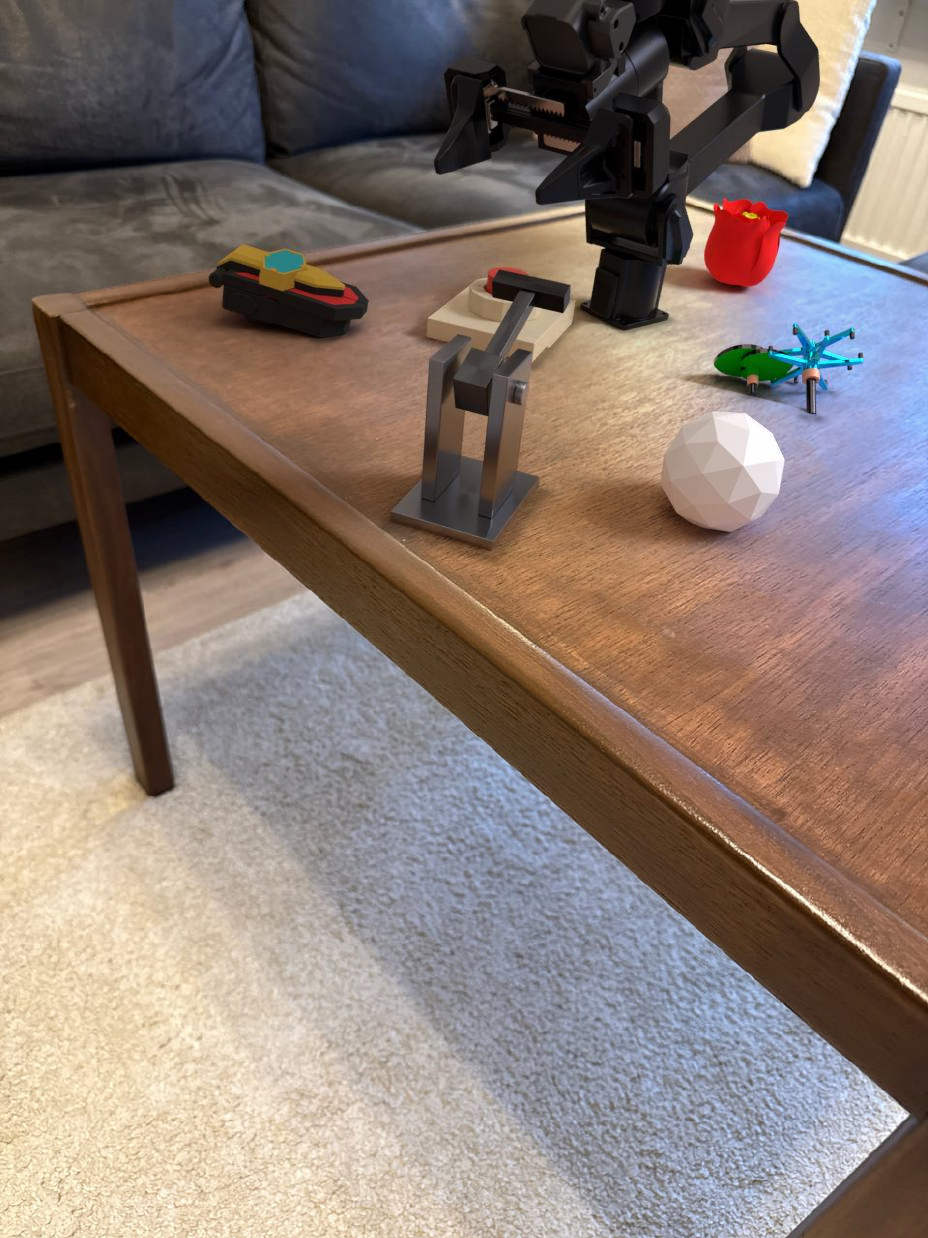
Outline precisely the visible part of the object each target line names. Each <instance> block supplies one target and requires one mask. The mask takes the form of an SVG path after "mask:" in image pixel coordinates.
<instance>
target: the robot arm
mask: <svg viewBox="0 0 928 1238" xmlns="http://www.w3.org/2000/svg"><path fill="white" fill-rule="evenodd" d="M520 24H521V28H522V30H523V31H525V33H526V36H527V39H528V42H529V45H530V48H531V51H532V54H533V57H534V59H535V60H534V61H533V62H532V63H531V64H530V65H529V66H527V68H526V72H527V84H528V85H529V86H533V91H532V92H531V93H530V92H526V91H522V90H519V89H514V88H509V87H508V84H507V74H506V71H505V70H504V69H503V68H502V67H501V66H499V65H498V64H496V63H492V62H487V61H482V60H479V59H474V58H470V57H464V56H462V57H461V58H459V59H458V60H457V61H455V62H454V63H453V64H451V65H450V66H449V67H447V69H446V70H445V71H444V73H443V79H444V87H445V92H446V100H447V106H448V113H449V119H450V127H449V128H448V130H447V132H446V135H445V137H444V138H443V141H442V143H441V145H440V147H439V148H438V150H437V153H436V154H435V157H434V159H433V167H434V172H435V174H436V175H439V176H441V175H445V174H450V173H453V172H456V171H459V170H462V169H465V168H468V167H472V166H475V165H477V164H480V163H481V164H482V163H483V162H486V161H489V160H491V159H492V157H493V156H492V153H496V152H499V151H500V150H501V149H503V148H504V147H505V146H506V145H507V142H508V139H509V136H510V133H511V131H512V127H516V128H520V129H523V130H527V131H530V132H534V134H535V135H536V136H537V146H538V147H537V148H538V149H539V150H544V151H547V152H552V153H555V154H558V155H563V156H566V157H565V158H564V159H563V160H562V161H561V162H560V163H559V164H557V166H556V167H555V168H553V169H552V170H551V171H550V172H549V173H548V174H547V175H546V176H545V178H544V179H543V180H542V182H541V183H540V184H539V185H538V186H537V187H536V189H535V191H534V196H535V197H534V198H535V204H536V205H539V206H547V205H556V204H562V203H570V202H576V201H584V216H585V217H584V220H585V241H586V244H588V245H594V246H598V247H600V248H601V249H600V254H599V258H598V259H599V260H598V266H597V267H596V268H595V272H594V277H593V282H592V283H593V284H592V289H591V290H592V291H591V295H590V300H584V301H581V302H580V303H579V309H581V310H583V311H584V312H587V313H589V314H591V315H593V316H595V317H597V318H599V319H600V320H602V321H605V322H607V323H609V324H611V325H613V326H615V327H617V328H619V329H621V330H631V329H634V328H638V327H642V326H646V325H647V326H648V325H651V324H654V323H655V324H656V323H658V322H659V323H660V322H663V321H666V320H669V318H670V313H668V312H667V311H664V310H662V309H660V308H659V304H660V300H661V295H662V291H663V286H664V283H665V276H666V273H667V267H668V266H669V265H670V266H680V265H683V262H684V259H685V258H686V257H687V254H688V251H689V250H690V248H691V244H692V241H693V238H694V231H693V228H692V224H691V220H690V217H689V215H688V211H687V207H686V205H687V197H688V196H689V195H690V194H691V193H692V192H693V191H694V190H695V189H697V187H699V186H700V185H701V184H702V183H704V181H706V180H707V179H708V178H709V177H710V176H711V175H712V174H714V173H715V172H716V171H717V169H719V168H720V167H721V166H722V165H723V164H725V162H727V161H728V160H729V159H730V158H731V157H732V156H734V155H735V153H737V152H738V151H739V150H740V149H741V148H742V147H743V146H745V145H746V144H747V143H748V142H749V141H751V139H752V138H754V137H755V136H756V135H757V134H759V133H765V132H771V131H779V130H780V131H781V130H785V129H786V128H789V127H790V126H791V125H794V124H795V123H797V122H799V121H800V120H801V119H802V118H803V116H805V115H806V113H808V112H809V111H810V110H811V108H812V107H813V106H814V103H815V102H816V99H817V97H818V93H819V89H820V86H821V72H820V71H821V70H820V52H819V48H818V46H817V45H816V43H815V41H814V40H813V38H812V37H811V35H810V34H809V33H808V31H807V30H806V28H805V26H804V25H803V24H802V21H801V12H800V5H799V2H798V0H531V2H530V3H529V4H528V6H527V8H526V10H525V11H524V12H523V14H522V16H521V17H520ZM764 45H769V46H773V47H776V51H771V50H764V49H759V48H754V47H752V46H764ZM748 47H752V48H750V49H748ZM727 49H732V50H731V51H730V53H729V55H728V56H727V58H726V60H725V62H724V64H723V67H724V68H723V69H724V74H725V81H726V85H727V86H726V87H727V91H726V92H725V93H724V94H723V95H722V96H720V97H719V98H718V99H717V100H716V101H714V102H713V103H712V104H711V105H710V106H708V107H707V108H706V109H705V110H703V112H701V113H700V114H699V115H697V116H696V117H695V118H694V119H693V120H691V121H690V122H689V123H687V125H685V126H684V127H683V128H682V129H681V130H679V131H678V132H677V133H676V134H675V135H674V136H672V137H671V123H672V122H671V121H672V117H671V114H670V111H669V108H668V107H667V105H665V103H664V102H663V96H664V95H663V94H664V81H665V79H666V78H667V76H668V74H669V69H670V68H669V67H675V68H678V69H684V70H689V71H694V72H695V71H698V70H701V68H704V67H706V66H708V65H709V64H711V63H713V62H714V61H716V60H717V59H718V57H719V52H720V51H721V50H727Z"/></svg>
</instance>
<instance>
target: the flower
mask: <svg viewBox="0 0 928 1238" xmlns="http://www.w3.org/2000/svg"><path fill="white" fill-rule="evenodd" d="M712 208H713V214H714V223H713V225H712V228H711V229H710V232H709V234H708V236H707V240H706V243H705V247H704V252H703V260H704V261H703V262H704V264H705V267H706V269H707V271H708V272H709V274H710V275H711V276H712V277H713V278H714V279H715V280H716V281H717V282H719V283H721V284H726V285H731V286H740V287H745V288H746V287H747V288H749V287H755V286H757V285H759V284H761V283H762V282H763V281H764V280H765V279H766V278H767V277H768V276H769V274H770V273H771V272H772V270H773V268H774V265H775V263H776V259H777V256H778V254H779V250H780V246H781V245H780V244H781V233H782V231H783V229H784V228H785V226H786V225H787V220H788V218H789V213H788V212H786V211H785V210H780V209H779V210H776V209H775V210H774V209H770V208H769V207H768V206H767V205H766V203H765V202H763V201H756V202H755V203H753V202H752V201H751V200H750V199H747V198H742V199H736V200H733V201H728V200H727V199H726V197H723V199H722V208H721V207H720V204H719V203H717V202H716V203H714V204H713V207H712Z"/></svg>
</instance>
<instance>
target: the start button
mask: <svg viewBox="0 0 928 1238" xmlns="http://www.w3.org/2000/svg"><path fill="white" fill-rule="evenodd" d="M499 269H501V270H506V271H510V272H515V273H519V274H524V275H528V273H526V272H525V271H523V270H521V269H519V268H514V267H510V266H509V267H507V266H499V267H493V268H491V269H489V270H488V272H487V277H488V278H487V277H486V278H487V288H486V292H488V293H489V294H491V295H492V280H493V278H494V277H495V275H496V273H497V272H498V270H499Z"/></svg>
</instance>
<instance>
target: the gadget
mask: <svg viewBox="0 0 928 1238" xmlns="http://www.w3.org/2000/svg"><path fill="white" fill-rule="evenodd" d="M208 283H209V285H210V286H211V287H213V288H215V289H220V288H221V287H222V288H223V289H222V301H221V308H222V309H223V310H226V311H230V312H232V313H236V314H239V315H242V316H243V317H245V319H246V320H249V321H252V322H254V323H257V324H261V325H262V324H264V325H279V326H283V327H285V328H289V329H292V330H296V331H298V332H301V333H305V334H308V335H312V336H314V337H318V338H327V337H337V336H342V335H343V336H344V335H346V334H347V331H349V329H350V328H351V327H350V326H351V320H352V321H353V320H354V321H355V320H361V319H363V317H364V316H365V315H366V313H367V312H368V308H369V301H370V300H369V299H368V298H367V297H366V296H365V295H364V293H363V292H362V291H361V290H360V289H359V288H358V286H356V285H352V284H349V283H346V282H344V281H340V280H338V279H337V278H335V277H334V276H333V275H331V274H330V273H328V272H327V271H325V270H324V269H322V268H320V267H316V266H313V265H310V264H307V259H306V254H304V253H301V252H297V251H295V250H291V249H288V248H281V249H276V250H274V251H266V250H262V249H260V248H256V247H254V246H251V245H248V244H244V243H243V244H241V245H239V246H238V247H237V248H236V249H234V250H233V251H231V252H230V253H228V254H227V255H226V256H225V257H224V258H222V259H221V260H219V261H218V262H217V263H216V269H215V270H213V271H212V272H211V273H210V274H209V275H208Z"/></svg>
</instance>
